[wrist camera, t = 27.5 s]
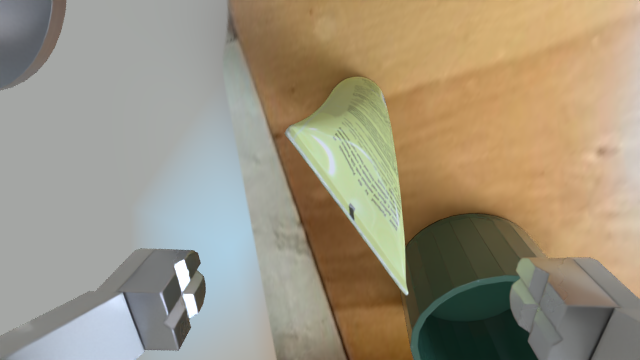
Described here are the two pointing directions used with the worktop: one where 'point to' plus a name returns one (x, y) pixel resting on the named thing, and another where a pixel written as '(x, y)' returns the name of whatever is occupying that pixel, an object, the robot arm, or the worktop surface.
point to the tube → (358, 166)
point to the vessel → (466, 289)
